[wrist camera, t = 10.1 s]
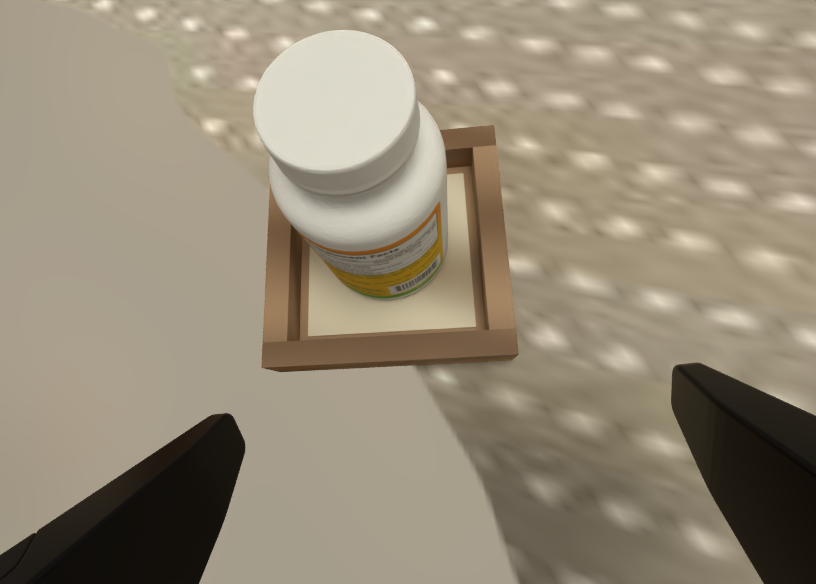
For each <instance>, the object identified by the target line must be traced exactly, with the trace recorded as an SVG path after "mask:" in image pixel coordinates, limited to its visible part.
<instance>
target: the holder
mask: <svg viewBox="0 0 816 584" xmlns="http://www.w3.org/2000/svg"><path fill="white" fill-rule="evenodd" d="M440 133H441V135H442V138H443V142H444V146H445V153H446V162H447V208H448V246H447V252H446V256H445V259H444V261H443V264H442V266H441V268H440V270H439V271H438V273H437V274H436V275H435V277H434V278H433V279H432V280H431V281H430V282H429V283H428V284H427V285H426V286H424V287H423V288H422V289H420V290H419V291H417V292H415V293H413V294H411V295H409V296H406V297H403V298H399V299H393V300H377V299H371V298H368V297H365V296H362V295H360V294H358V293H356V292H354V291H352V290H351V289H349V288H348V287H347V286H346V285H344V284H343V283H342V282H341V281H340V280H339V279H338V278H337V277H336V276H335V274H334V273H333V272H332V271H331V270H330V269H329V267H328V266H327V265H326V264H325V263H324V262H323V260H322V259H321V258H320V257H319V256H318V254H317V253H316V252H315V251H314V250H313V249H312V248H311V246H310V245H309V244H308V243H307V242H306V241H305V239H304V238H303V237H302V236H301V235H300V234H299V233H298V232H297V230H296V229H295V228H294V227H293V226H292V225H291V224H290V222H289V221H288V220H287V218H286V217H285V216H284V214H283V213H282V211H281V210H280V208H279V207H278V204H277V202H276V200H275V198H274V195H273V192H272V189H271V185H270V197H269V220H268V241H267V242H268V243H267V262H266V285H265V306H264V328H263V330H264V331H263V349H262V368H265V369H270V370H274V371H278V372H290V371H309V370H329V369H349V368H369V367H388V366H408V365H427V364H447V363H466V362H486V361H505V360H512V359H514V358H515V357H516V356H517V355H518V344H517V335H516V326H515V317H514V307H513V298H512V289H511V279H510V270H509V261H508V251H507V242H506V233H505V223H504V214H503V205H502V195H501V186H500V177H499V167H498V158H497V149H496V139H495V130H494V125H490V126H479V127H469V128H458V129H447V130H440Z"/></svg>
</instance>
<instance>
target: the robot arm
mask: <svg viewBox="0 0 816 584" xmlns="http://www.w3.org/2000/svg"><path fill="white" fill-rule="evenodd" d="M671 404H672V409H673V412H674V415H675V417H676V419H677V422H678V424H679V426H680V428H681V430H682V433H683V435H684V437H685V439H686V442H687V444H688V446H689V448H690V450H691V453H692V455H693V457H694V459H695V461H696V464H697V466H698V468H699V470H700V473H701V475H702V477H703V479H704V481H705V483H706V485H707V487H708V489H709V491H710V493H711V495H712V497H713V498H714V500H715V502H716V504H717V506H718V507H719V509H720V511H721V512H722V514H723V516H724V517H725V519H726V521H727V522H728V524H729V526H730V527H731V529H732V531H733V532H734V534H735V536H736V538H737V539H738V541H739V543H740V544H741V546H742V548H743V549H744V551H745V553H746V554H747V556H748V558H749V559H750V561H751V563H752V565H753V566H754V568H755V570H756V571H757V573H758V575H759V576H760V578H761V580H762V581H763V583H764V584H816V416H815V415H813V414H811V413H809V412H806V411H804V410H802V409H800V408H798V407H795V406H793V405H791V404H789V403H787V402H785V401H782V400H780V399H778V398H776V397H774V396H771V395H769V394H767V393H765V392H763V391H760V390H758V389H756V388H754V387H752V386H750V385H747V384H745V383H743V382H741V381H739V380H736V379H734V378H732V377H730V376H728V375H726V374H723V373H721V372H719V371H717V370H715V369H712V368H710V367H708V366H706V365H704V364H701V363H688V364H679V365H676V366H675V367H674V368H673V371H672V391H671ZM244 453H245V441H244V439H243V437H242V434H241V432H240V430H239V428H238V426H237V424H236V422H235V419H234V418H233V416H232V415H231V414H228V413H224V414H215V415H211V416H209V417H207V418H206V419H204V420H203V421H201V422H200V423H198V424H197V425H195V426H194V427H193V428H191V429H190V430H188V431H186V432H185V433H183V434H182V435H180V436H179V437H177V438H176V439H174V440H173V441H171V442H170V443H168V444H167V445H165V446H164V447H162V448H161V449H159V450H158V451H156V452H155V453H153V454H152V455H150V456H149V457H147V458H146V459H144V460H143V461H141V462H140V463H138V464H137V465H135V466H134V467H132V468H131V469H129V470H128V471H126V472H125V473H123V474H122V475H120V476H119V477H117V478H116V479H114V480H113V481H111V482H110V483H108V484H107V485H105V486H104V487H102V488H101V489H99V490H98V491H96V492H95V493H93V494H92V495H90V496H89V497H87V498H86V499H84V500H83V501H81V502H80V503H78V504H77V505H75V506H74V507H72V508H71V509H69V510H68V511H66V512H65V513H64V514H62V515H60V516H59V517H57V518H56V519H54V520H53V521H51V522H50V523H48V524H47V525H45V526H44V527H42V528H41V529H39V530H38V531H37V533H33V534H31V535H30V536H29V537H27V538H25V539H24V540H23V541H21V542H19V543H18V544H17V545H15V546H14V547H12V548H10V549H9V550H7V551H6V552H4V553H3V554H1V555H0V584H199V582H200V580H201V577H202V575H203V572H204V570H205V567H206V565H207V562H208V560H209V557H210V555H211V552H212V550H213V547H214V545H215V543H216V540H217V538H218V535H219V532H220V530H221V527H222V525H223V522H224V519H225V516H226V513H227V510H228V507H229V503H230V501H231V497H232V493H233V491H234V487H235V484H236V480H237V477H238V473H239V470H240V467H241V464H242V460H243V457H244Z"/></svg>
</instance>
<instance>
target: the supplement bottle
mask: <svg viewBox="0 0 816 584" xmlns="http://www.w3.org/2000/svg"><path fill="white" fill-rule="evenodd" d="M253 116H254V122H255V126H256V130H257V133H258V135H259V137H260V140H261V141H262V143H263V145H264V146H265V148H266V149H267V151H268V152H269V154H270V159H269V179H270V185H271V189H272V192H273V195H274V198H275V200H276V202H277V204H278V207H279V208H280V210H281V211H282V213H283V214H284V216H285V217H286V218H287V220H288V221H289V222H290V224H291V225H292V226H293V227H294V228H295V229H296V230H297V232H298V233H299V234H300V235H301V236H302V237H303V238H304V239H305V241H306V242H307V243H308V244H309V245H310V246H311V248H312V249H313V250H314V251H315V252H316V253H317V254H318V256H319V257H320V258H321V259H322V260H323V262H324V263H325V264H326V265H327V266H328V267H329V269H330V270H331V271H332V272H333V273H334V274H335V276H336V277H337V278H338V279H339V280H340V281H341V282H342V283H343V284H344V285H346V286H347V287H348V288H349V289H351V290H352V291H354V292H356V293H358V294H360V295H362V296H365V297H368V298H371V299H377V300H393V299H399V298H403V297H406V296H409V295H411V294H413V293H415V292H417V291H419V290H420V289H422V288H423V287H424V286H426V285H427V284H428V283H429V282H430V281H431V280H432V279H433V278H434V277H435V275H436V274H437V273H438V271H439V270H440V268H441V266H442V264H443V261H444V259H445V256H446V252H447V246H448V208H447V162H446V153H445V146H444V142H443V138H442V135H441V133H440V130H439V128H438V126H437V124H436V122H435V120H434V119H433V117H432V116H431V114H430V113H429V112H428V110H427V109H426V108H425V107H424V106H423V105H422V104H421V103H420V102H419V101H418V100H417V93H416V87H415V82H414V78H413V75H412V72H411V70H410V68H409V65H408V64H407V62H406V60H405V59H404V58H403V56H402V55H401V54H400V53H399V52H398V51H397V50H396V49H395V48H394V47H393V46H392V45H390V44H389V43H387V42H386V41H384V40H382V39H381V38H378V37H376V36H373V35H371V34H368V33H364V32H360V31H354V30H334V31H327V32H322V33H318V34H315V35H312V36H310V37H307V38H305V39H303V40H300V41H299V42H297V43H295V44H293V45H292V46H290V47H289V48H287V49H286V50H285V51H283V52H282V53H281V54H280V55H279V56H278V57H277V58H276V59H275V60H274V61H273V62H272V63H271V64H270V65H269V67H268V68H267V70H266V71H265V72H264V74H263V76H262V78H261V80H260V82H259V84H258V87H257V90H256V93H255V97H254V104H253Z"/></svg>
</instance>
